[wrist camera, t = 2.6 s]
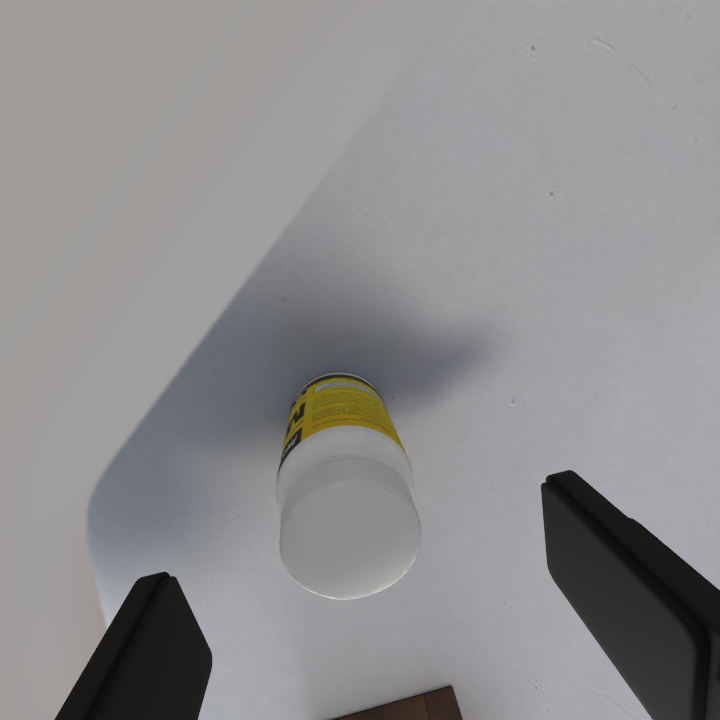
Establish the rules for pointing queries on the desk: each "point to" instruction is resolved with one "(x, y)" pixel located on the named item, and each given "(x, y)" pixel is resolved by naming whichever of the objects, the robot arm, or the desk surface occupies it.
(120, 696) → the robot arm
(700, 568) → the desk surface
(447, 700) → the holder
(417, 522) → the supplement bottle
